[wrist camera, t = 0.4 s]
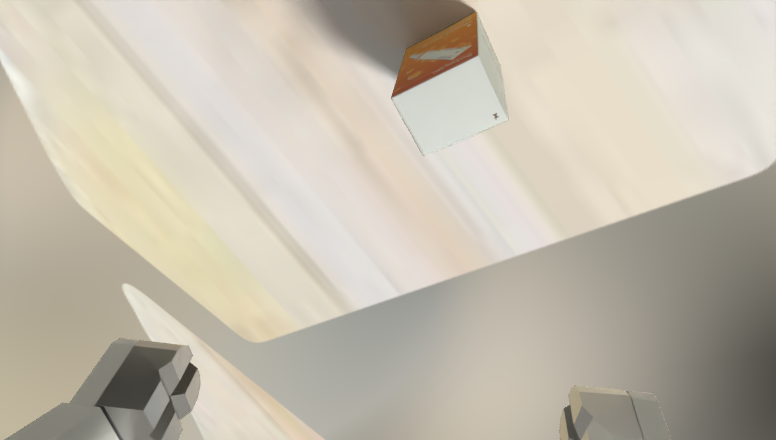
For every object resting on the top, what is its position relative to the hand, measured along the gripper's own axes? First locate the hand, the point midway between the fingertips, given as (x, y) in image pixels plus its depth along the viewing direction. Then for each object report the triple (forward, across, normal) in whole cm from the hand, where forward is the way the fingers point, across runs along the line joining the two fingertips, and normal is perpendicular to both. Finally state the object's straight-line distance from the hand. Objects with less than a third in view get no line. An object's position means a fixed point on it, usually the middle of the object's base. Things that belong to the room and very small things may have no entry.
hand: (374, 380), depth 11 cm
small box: (+46, -2, +9) cm, 47 cm away
